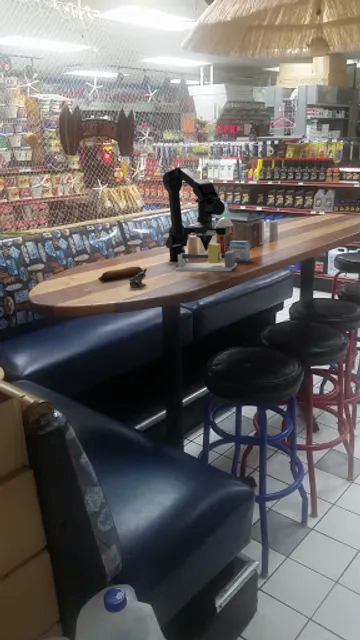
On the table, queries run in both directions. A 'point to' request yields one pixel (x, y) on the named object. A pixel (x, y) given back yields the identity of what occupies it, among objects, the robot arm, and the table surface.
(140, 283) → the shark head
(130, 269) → the sweet potato
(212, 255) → the sleeve
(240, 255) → the medicine box
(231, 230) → the smoothie
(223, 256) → the cord rig
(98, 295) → the table surface
